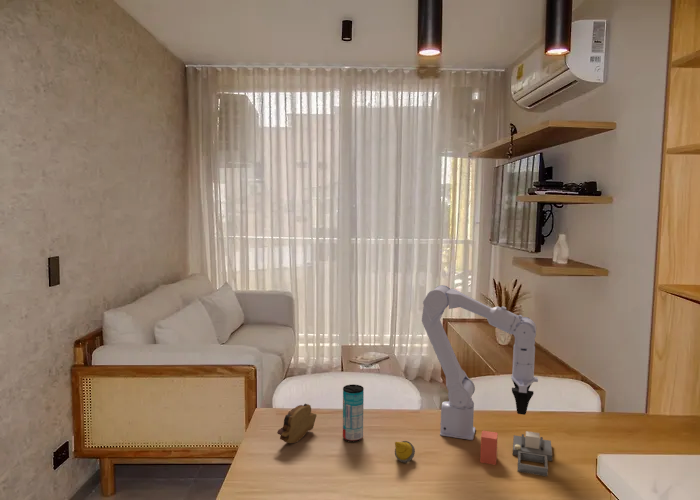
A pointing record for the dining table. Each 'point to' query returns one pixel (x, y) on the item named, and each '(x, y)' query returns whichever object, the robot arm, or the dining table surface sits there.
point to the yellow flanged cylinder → (404, 451)
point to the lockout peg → (488, 447)
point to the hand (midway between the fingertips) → (521, 408)
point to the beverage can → (353, 412)
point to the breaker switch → (532, 440)
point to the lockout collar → (531, 468)
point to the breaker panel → (543, 448)
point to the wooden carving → (297, 423)
